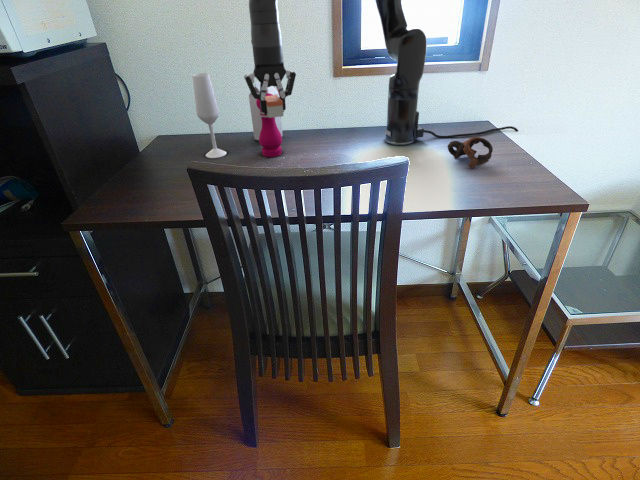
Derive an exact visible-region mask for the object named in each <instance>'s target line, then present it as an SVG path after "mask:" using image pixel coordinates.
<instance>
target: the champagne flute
mask: <svg viewBox="0 0 640 480" xmlns="http://www.w3.org/2000/svg"><path fill="white" fill-rule="evenodd" d="M191 76H192V85H193V92H194V93H193V94H194V101H195V110H196V111H195V112H196V116H197V118H198V119H199V120H201V122H203V123H205V124H207V125H208V129H209V134H210V139H211V144H212V149H210V151H208V152H207V153H206V154H205V157H206V158H208V159H217V158H218V159H219V158H222V157H224V156H226V155H227V154H228V153H227V151H225V150H223V149H221V148H218V147H217V141H216V135H215V132H214V127H213V126H214V123H216V121H217V119H218V118H219V115H220V109H219V106H218V101H217V98H216V94H215V90H214V87H213V83H212V79H211V76H210V73H208V72H199V73H193V74H192V75H191Z"/></svg>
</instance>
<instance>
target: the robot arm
mask: <svg viewBox="0 0 640 480" xmlns="http://www.w3.org/2000/svg"><path fill="white" fill-rule="evenodd" d="M374 2H375V6H376V9H377V12H378V15H379V18H380V24H381V29H382V34H383V39H384V44H385V48H386V52H387V54H388V56H389V57H390V58H391V59H392V60H394V61H397V63H396V69H395V73H394V74H392V75H390V76H389V78H388V89H387V91H388V93H387V107H386V108H387V109H386V125H385V127H386V128H384V134H385V137H384V140H385V142H386V143H387V144H389V145H393V146H408V145H411V144H413V143H416V142H417V140H418V139H419V138H424V133H426V134H430V135H432V136H434V137H435V138H439V139H449V138H450V139H451V138H457V137H458V138H459V137H470V136H471V137H472V136H480V135H485V134H487V133H488V134H489V133H491V132H496V131H497V132H498V131H503V130H509V129H511V130H514V131H515V132H519V130H518V128H517V127H516V126H512V125H511V126H509V125H508V126H502V127H497V128H491V129H488V130H487V129H486V130H483V131H478V132H471V133H470V132H469V133H458V134H457V133H456V134H450V135H439V134H436V133H435V132H434V131H432V130H428V129H425V128H423V127H421V126H420V125H419V120H420V112H419V111H418V102H419V93H420V92H419V91H420V82H421V80H422V78H423V75H424V70H425V64H426V56H427V49H428V41H427V40H428V39H427V36H426V34H425V32H424V31H423V29H421V28H417V27H410V26H409V24H408V21H407V18H406V15H405V10H404V7H403V0H374ZM248 11H249V19H250V36H251V38H250V39H251V41H250V43H251V47H252V54H253V55H252V56H253V62H254V69H253V72H252V73H250V74H245V75H244V76H243V79H244V80H245V83H246V85H247V87H248V89H249V92H250V93H251V94H252V96H253V97H254V98H255V99H259V100H260V106H261V111H262V112H263V113H264V114H265V115H266V114H267V106H266V100H265V97H266V92H267V87H270V86H273V87H275V89H276V90H277V91H278V93H279V98H280V99H281V100H282V101H283V113H285V111H286V109H287V106H286V98H287V97H289V96H291V95H292V94H293V89H294V84H295V81H296V77H297V74H296V72H295V71H293V70H289V69H286V67H285V63H284V51H283V38H282V37H283V36H282V29H281V24H280V14H279V4H278V0H248ZM284 77H286V79H287V82H286V86H285V90H284V86H283V84H282V81H283V79H284ZM255 78H256V79H257V81H258V82H260V93H259V94H258V93H257V92H256V90H255V88H254V87H255ZM417 138H418V139H417Z"/></svg>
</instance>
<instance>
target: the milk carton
mask: <svg viewBox="0 0 640 480" xmlns="http://www.w3.org/2000/svg"><path fill="white" fill-rule="evenodd" d="M254 88H255V90H256V92H257V93H258V94H259V93H260V82H259V81H258V82H254ZM267 89H268V93H270V94H272V95H277V96H278V97H279V93H278V90H277V88H276V87H275V86H270V87H267ZM248 100H249V108H250V115H251V123H252V130H253V137H254V140H255V141H259V136H260V132H261V129H262V119H261V116H260V115H259V114H260V113H259V111H260V109H259V108H258V107H257V104H256V100H257V99H255V98H254V97H253V96H252V94H251V92H249V94H248ZM275 122H276V126H277V128H278V130H279V131H280V133H281V136H282V138H283V125H282V116H281V117H275Z"/></svg>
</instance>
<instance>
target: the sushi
mask: <svg viewBox="0 0 640 480" xmlns="http://www.w3.org/2000/svg"><path fill="white" fill-rule="evenodd" d="M265 100H266V106H267V116H268V117H269V118H273V117H281V118H282V117H284V112H283V101H282V100H281V99H280V98H279V97H278V96H277V95H272V96H266V97H265Z"/></svg>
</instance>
